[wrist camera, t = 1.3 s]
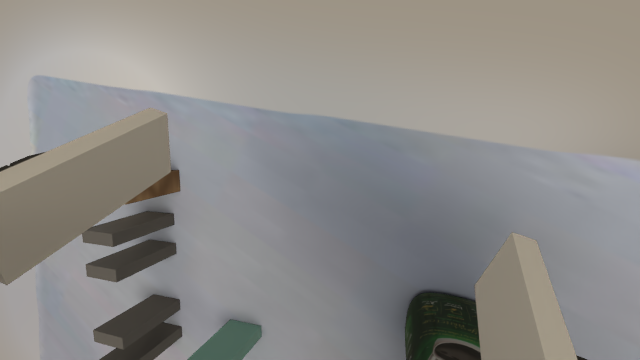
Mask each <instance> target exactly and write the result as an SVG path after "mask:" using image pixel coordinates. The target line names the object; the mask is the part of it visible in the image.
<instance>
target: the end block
mask: <svg viewBox="0 0 640 360" xmlns="http://www.w3.org/2000/svg"><path fill="white" fill-rule="evenodd" d="M178 191H180V180H179V170H171V172H170V173H169V174H167V175H166V176H164V177H163V178H161V179H160V180H159V181H157V182H156V183H154V184H153V185H151V186H150V187H148V188H147V189H146V190H144V191H143V192H141V193H140V194H138V195H137V196H135V197H134V198H133V199H131V200H130V201H128V202H127V203H125V204H130V203H134V202H138V201H142V200H146V199H150V198H154V197H158V196H162V195H166V194H170V193H174V192H178Z"/></svg>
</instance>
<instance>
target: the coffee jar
mask: <svg viewBox="0 0 640 360" xmlns="http://www.w3.org/2000/svg"><path fill="white" fill-rule="evenodd" d="M405 347H406V360H481V351H480V341H479V330H478V319H477V308H476V302H474V301H471V300H468V299H464V298H461V297H456V296H452V295H447V294H440V293H423V294H420V295H418V296H416V297H415V298H414V299H413V300H412V302H411V303H410V305H409V308H408V312H407V317H406V326H405Z"/></svg>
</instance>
